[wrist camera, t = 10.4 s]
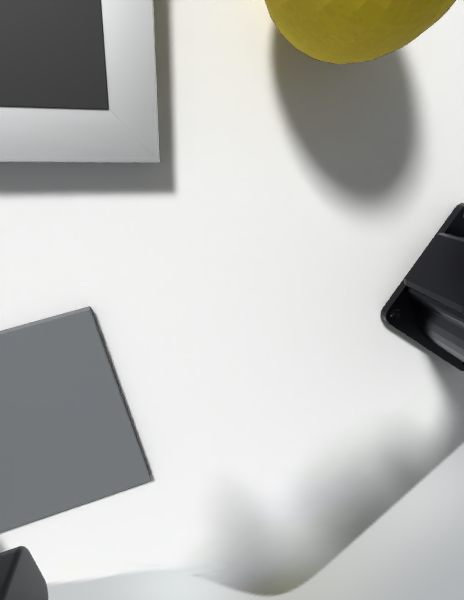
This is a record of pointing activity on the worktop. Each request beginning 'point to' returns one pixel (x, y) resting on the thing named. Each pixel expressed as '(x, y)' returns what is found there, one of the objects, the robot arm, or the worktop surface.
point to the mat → (61, 421)
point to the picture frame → (78, 81)
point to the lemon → (353, 25)
